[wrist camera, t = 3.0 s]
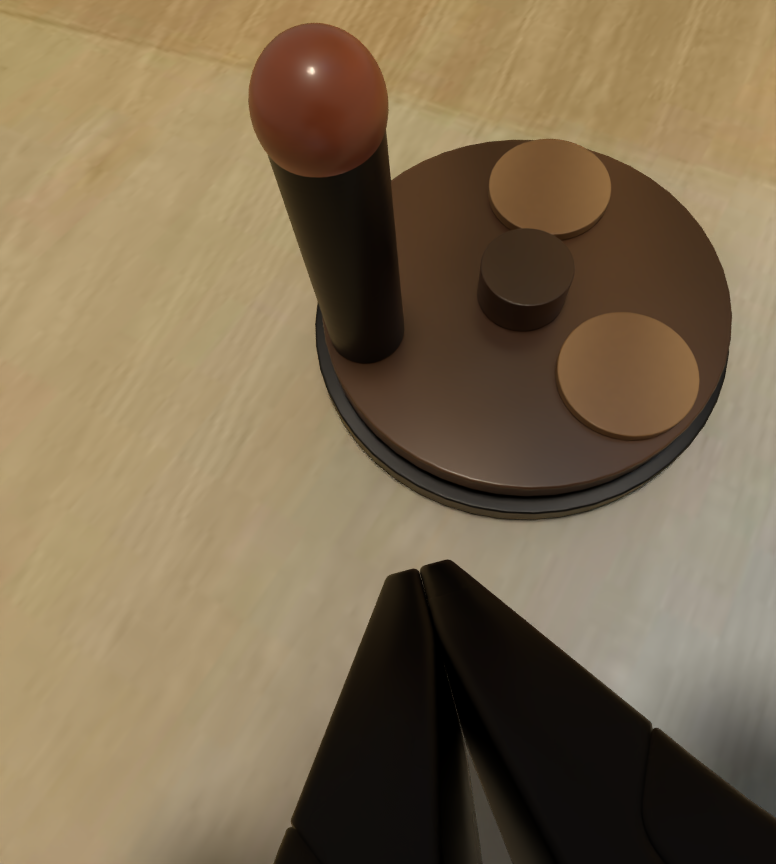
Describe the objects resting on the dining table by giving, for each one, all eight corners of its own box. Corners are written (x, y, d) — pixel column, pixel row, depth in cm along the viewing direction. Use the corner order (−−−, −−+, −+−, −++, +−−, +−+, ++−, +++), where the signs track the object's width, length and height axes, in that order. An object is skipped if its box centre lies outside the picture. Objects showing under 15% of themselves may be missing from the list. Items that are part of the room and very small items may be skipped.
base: (806, 347, 21) (823, 334, 20) (495, 612, 19) (498, 611, 18) (524, 118, 26) (528, 98, 25) (247, 308, 24) (239, 294, 23)
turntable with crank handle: (631, 124, 24) (795, -301, 13) (791, 439, 19) (1260, 174, 8) (297, 204, 24) (184, -159, 13) (371, 542, 19) (287, 409, 8)
